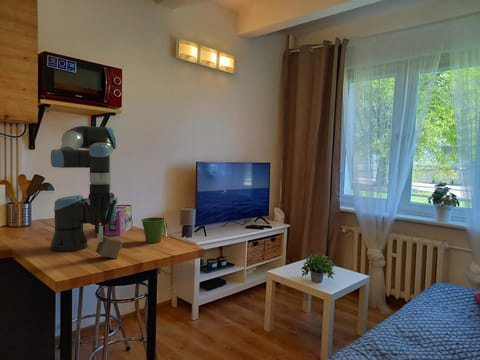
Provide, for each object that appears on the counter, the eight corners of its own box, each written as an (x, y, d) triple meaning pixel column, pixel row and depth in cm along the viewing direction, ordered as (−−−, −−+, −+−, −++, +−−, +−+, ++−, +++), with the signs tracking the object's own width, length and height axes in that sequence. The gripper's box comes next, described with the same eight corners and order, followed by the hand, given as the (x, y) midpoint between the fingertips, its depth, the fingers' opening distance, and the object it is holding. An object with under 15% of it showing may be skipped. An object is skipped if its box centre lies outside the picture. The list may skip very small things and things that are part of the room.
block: (101, 235, 144) (117, 238, 148) (95, 251, 143) (112, 254, 147) (106, 238, 139) (122, 242, 143) (100, 255, 138) (116, 258, 142)
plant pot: (159, 237, 180) (159, 216, 179) (169, 242, 170) (169, 219, 169) (137, 240, 172) (137, 218, 172) (146, 245, 163) (146, 222, 162)
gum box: (119, 236, 181) (119, 210, 180) (104, 236, 180) (103, 210, 180) (132, 227, 205) (132, 204, 204) (118, 227, 204) (118, 204, 203)
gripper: (84, 184, 132) (85, 245, 134) (118, 183, 140) (119, 241, 142) (80, 183, 138) (80, 241, 140) (113, 182, 146) (113, 237, 148)
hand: (100, 241), depth 141 cm, fingers closed
